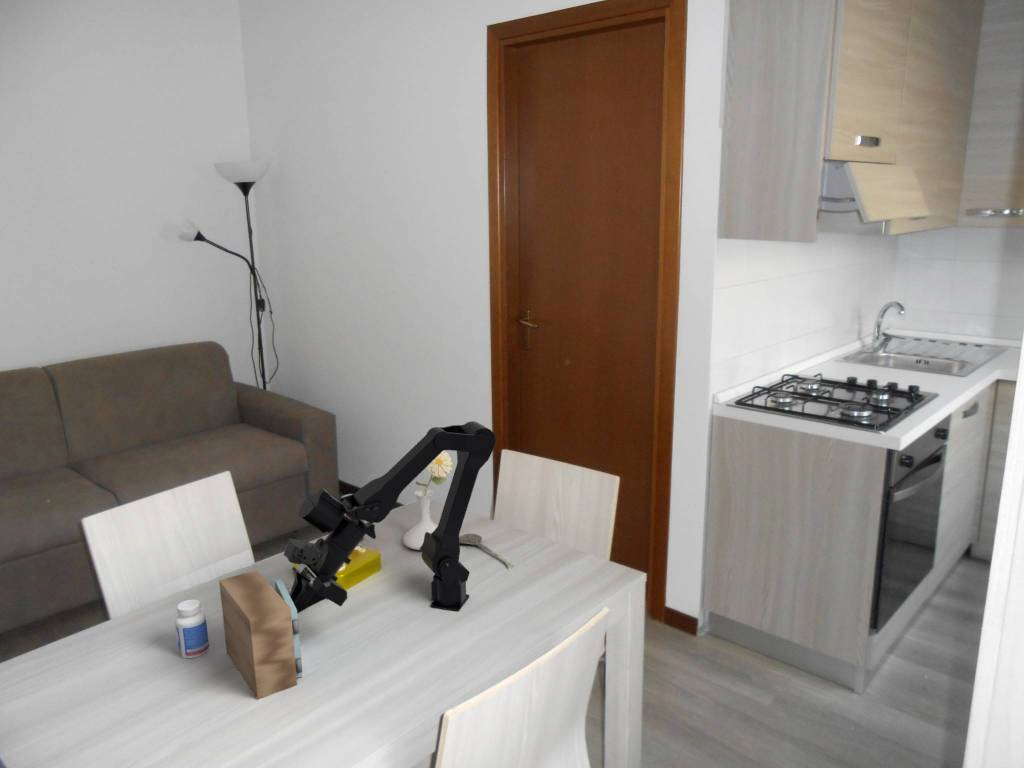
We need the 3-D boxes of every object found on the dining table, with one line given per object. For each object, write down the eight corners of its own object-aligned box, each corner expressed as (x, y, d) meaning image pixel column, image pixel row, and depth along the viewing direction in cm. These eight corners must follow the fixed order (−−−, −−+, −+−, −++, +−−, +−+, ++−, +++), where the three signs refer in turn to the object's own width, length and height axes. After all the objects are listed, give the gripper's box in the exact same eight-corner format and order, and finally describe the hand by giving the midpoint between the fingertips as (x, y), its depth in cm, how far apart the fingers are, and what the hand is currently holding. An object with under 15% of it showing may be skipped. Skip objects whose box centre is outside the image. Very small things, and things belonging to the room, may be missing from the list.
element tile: (385, 569, 184) (384, 550, 183) (339, 596, 172) (338, 575, 171) (338, 554, 192) (337, 536, 191) (291, 579, 180) (289, 560, 179)
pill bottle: (215, 646, 152) (210, 600, 150) (196, 661, 147) (190, 613, 145) (192, 641, 154) (187, 595, 152) (172, 656, 149) (166, 609, 147)
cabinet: (263, 640, 154) (256, 569, 150) (297, 685, 139) (290, 607, 136) (226, 652, 150) (219, 580, 146) (257, 699, 135) (250, 620, 132)
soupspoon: (471, 538, 202) (449, 546, 199) (470, 526, 201) (448, 533, 198) (522, 566, 184) (499, 575, 181) (521, 553, 184) (498, 561, 180)
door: (310, 677, 141) (305, 611, 138) (297, 681, 140) (291, 614, 137) (292, 637, 154) (287, 576, 151) (279, 640, 153) (274, 579, 150)
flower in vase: (412, 558, 189) (408, 458, 183) (396, 541, 198) (391, 445, 193) (462, 547, 194) (459, 450, 189) (444, 530, 204) (441, 438, 199)
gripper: (292, 508, 156) (241, 574, 153) (326, 542, 141) (270, 616, 138) (332, 535, 163) (284, 599, 159) (370, 570, 147) (317, 641, 144)
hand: (288, 612), depth 150 cm, fingers closed
